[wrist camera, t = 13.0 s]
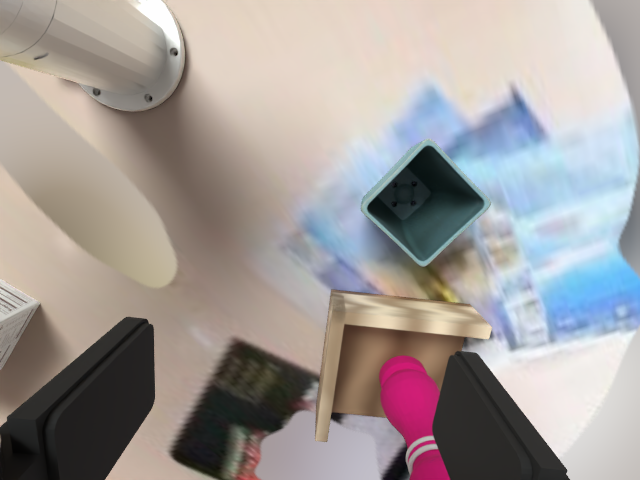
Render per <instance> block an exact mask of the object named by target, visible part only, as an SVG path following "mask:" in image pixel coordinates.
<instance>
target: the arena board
mask: <svg viewBox="0 0 640 480" xmlns="http://www.w3.org/2000/svg"><path fill="white" fill-rule="evenodd" d="M331 292H336V293H345V294H354V295H364V296H373V297H382V298H392V299H401V300H410V301H420V302H429V303H439V304H448V305H457V306H467V307H472V306H471V305H470V304H462V303H453V302H443V301H434V300H425V299H415V298H406V297H397V296H387V295H378V294H369V293H359V292H350V291H341V290H331ZM330 299H331V296H330ZM329 307H330V303H329ZM328 315H329V311H328ZM327 322H328V319H327ZM326 330H327V326H326ZM325 338H326V334H325ZM464 338H465V337H463V336H454V335H444V334H434V333H425V332H415V331H406V330H396V329H387V328H377V327H368V326H358V325H349V324H344V329H343V336H342V343H341V350H340V357H339V364H338V371H337V378H336V384H335V391H334V398H333V405H332V412H336V413H346V414H356V415H366V416H376V417H386V415H385V413H384V410H383V408H382V405H381V401H380V394H381V385H380V381H379V373H380V370H381V368H382V366H383V365H384V364H385V363H386V362H387V361H388V360H390V359H391V358H393V357H396V356H402V355H404V356H411V357H413V358H416V359H417V360H419V361H420V362H421V363H422V365H423V366H424V368H425V370H426V372H427V375H428V376H430V377H431V378H432V379H433V380H434V381H435V383H436V384H437V386H438V389H439V391H441V387H442V383H443V379H444V375H445V371H446V367H447V363H448V359H449V357H450V355H454V354H455V352H457V351H461V350H462V346H463V342H464ZM324 345H325V342H324ZM323 353H324V350H323ZM322 361H323V357H322ZM321 368H322V365H321ZM320 376H321V373H320ZM319 384H320V380H319ZM318 391H319V388H318ZM317 399H318V396H317ZM316 407H317V403H316ZM386 418H387V417H386Z"/></svg>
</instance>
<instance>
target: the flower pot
mask: <svg viewBox="0 0 640 480" xmlns="http://www.w3.org/2000/svg"><path fill="white" fill-rule="evenodd" d="M413 181H415V182H416V185H415V186H412V182H413ZM393 182H396V184H397V185H396V186H395V187H393V186H392V183H393ZM412 201H415V204H414V205H412V204H411V202H412ZM392 202H396V205H395V206H393V205H392ZM490 205H491V202H490V200H489V199H488V197H487V196H486V195H485V194H484V193H483V192H482V191H481V190H480V189H479V188H478V187H477V186H476V185H475V184H474V183H473V182H472V181H471V180H470V179H469V178H468V177H467V176H466V175H465V174H464V173H463V172H462V171H461V170H460V169H459V168H458V167H457V166H456V164H455V163H454V162H453V161H452V160H451V159H450V158H449V157H448V156H447V155H446V154H445V153H444V152H443V151H442V150H441V148H440V147H439V146H438V145H437V144H436V143H435V142H434V141H433V140H431V139H426V140H424V141H422V142H420V143H418V144H416V145H415V146H413V147H412V148H411V149H410V150H408V152H407V153H406V154H405V155H404V156H403V157H402V158H401V159H400V160H399V161H398V162H397V163H396V164H395V165H394V166H393V167H392V169H391V170H390V171H389V172H388V173H387V174H386V175H385V176H384V177H383V178H382V179H381V180H380V181H379V182H378V183H377V184H376V185H375V186H374V187H373V188H372V189H371V190H370V191H369V192H368V193H367V194H366V195H365V196H364V197H363V199H362V203H361V211H362V213H363V214H364V215H365V216H366V217H368V218H369V219H370V220H371V221H372V222H373V223H374V224H375V225H377V226H378V227H379V228H380V229H381V230H382V231H383V232H384V233H385V234H386V235H388V236H389V237H390V238H391V239H392V240H393V241H394V242H395V243H396V244H397V245H398V246H399V247H400V248H401V249H402V250H404V251H405V252H406V253H407V254H408V255H409V256H410V257H411V258H412V259H413V260H414V261H415V262H416V263H417V264H418V265H419V266H421V267H425V266H427V265H428V264H429V263H430V262H431V261H432V260H433V259H434V258H436V257H437V256H438V255H439V254H440V253H441V252H442V251H443V250H444V249H445V248H446V247H447V246H448V245H449V244H450V243H451V242H452V241H453V240H455V239H456V238H457V237H458V236H459V235H460V234H461V233H462V232H463V231H464V230H465V229H467V228H468V227H469V226H470V225H471V224H472V223H473V222H474V221H475V220H476V219H477V218H479V217H480V216H481V215H482V214H483V213H484V212H485V211H486V210H487V209H488V208H489V207H490Z"/></svg>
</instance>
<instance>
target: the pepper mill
mask: <svg viewBox="0 0 640 480" xmlns="http://www.w3.org/2000/svg"><path fill="white" fill-rule="evenodd" d="M379 381H380V385H381V394H380V401H381V405H382V408H383V410H384V413H385V415H386V417H387V418H388V420H389V421H390V423H391V424H392V425H393V426H394V427H395V428H396V429H397V430H398V431H399V432H400V433H401V434H402V436H403V437H404V439H405V441H406V444H407V448H408V450H407V453H406V463H407V466H408V470H409V474H410V479H409V480H450V478H449V475H448V472H447V470H446V467H445V465H444V462H443V460H442V457H441V455H440V452H439V450H438V447H437V444H436V442H435V439H434V437H433V432H432V424H433V419H434V415H435V411H436V407H437V403H438V399H439V395H440V391H439V389H438V386H437V384H436V383H435V381H434V380H433V379H432V378H431V377H430V376H428V375H427V372H426V370H425V368H424V366H423V365H422V363H421V362H420V361H419V360H417V359H416V358H413V357H411V356H404V355H402V356H396V357H393V358H391V359H390V360H388V361H387V362H386V363H385V364H384V365H383V366H382V368H381V370H380V373H379Z"/></svg>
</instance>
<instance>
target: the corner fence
mask: <svg viewBox="0 0 640 480" xmlns="http://www.w3.org/2000/svg"><path fill="white" fill-rule="evenodd" d="M344 324H349V325H358V326H368V327H377V328H387V329H396V330H406V331H415V332H425V333H434V334H444V335H454V336H463V337H473V338H482V339H489V337H490V333H491V329H492V327H491V326H490V325H489V324H488V323H487V322H486V321H485V320H484V319H483V318H482V316H481V315H480V314H479V313H478V312H477V311H476V310H475V309H474V308H473V307H467V306H457V305H448V304H439V303H429V302H420V301H410V300H401V299H392V298H382V297H373V296H364V295H354V294H345V293H336V292H331V299H330V307H329V315H328V322H327V330H326V338H325V345H324V353H323V361H322V368H321V376H320V384H319V391H318V399H317V407H316V431H315V441H322V442H327V439H328V432H329V425H330V419H331V412H332V405H333V398H334V391H335V384H336V378H337V371H338V364H339V357H340V350H341V343H342V336H343V329H344Z"/></svg>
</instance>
